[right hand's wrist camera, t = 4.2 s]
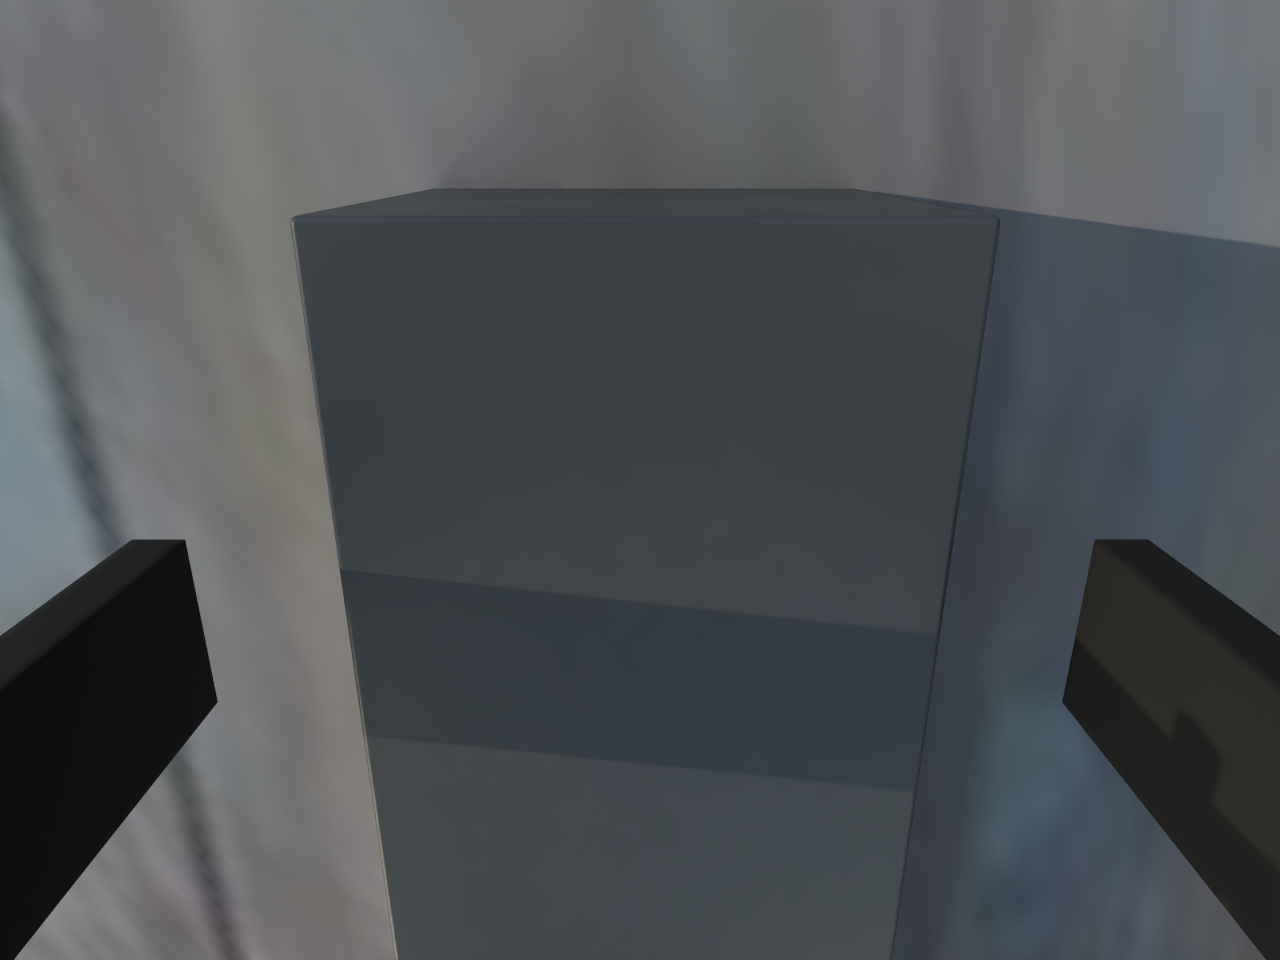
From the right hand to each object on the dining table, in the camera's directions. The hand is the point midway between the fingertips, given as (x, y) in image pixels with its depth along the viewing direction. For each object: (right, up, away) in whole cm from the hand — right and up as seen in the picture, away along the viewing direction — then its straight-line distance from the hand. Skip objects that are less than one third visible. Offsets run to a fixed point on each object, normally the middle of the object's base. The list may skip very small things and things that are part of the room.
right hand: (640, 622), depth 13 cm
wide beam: (0, -18, +14) cm, 23 cm away
